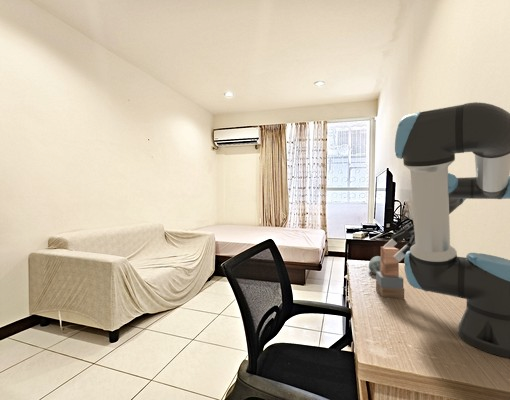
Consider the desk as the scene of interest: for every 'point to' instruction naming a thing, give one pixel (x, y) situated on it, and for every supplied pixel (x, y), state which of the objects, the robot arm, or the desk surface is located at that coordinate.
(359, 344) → the desk surface
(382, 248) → the tall block
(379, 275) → the top slab
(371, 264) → the spool
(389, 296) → the bottom slab
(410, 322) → the desk surface
